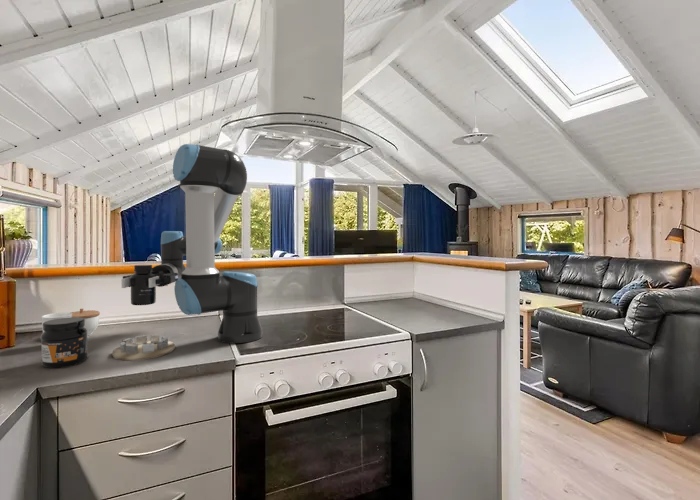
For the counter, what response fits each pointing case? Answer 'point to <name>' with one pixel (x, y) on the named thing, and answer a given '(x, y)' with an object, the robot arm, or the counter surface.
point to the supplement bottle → (142, 286)
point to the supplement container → (64, 342)
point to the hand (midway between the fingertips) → (136, 283)
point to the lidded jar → (88, 319)
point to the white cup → (55, 317)
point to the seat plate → (140, 355)
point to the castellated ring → (131, 349)
